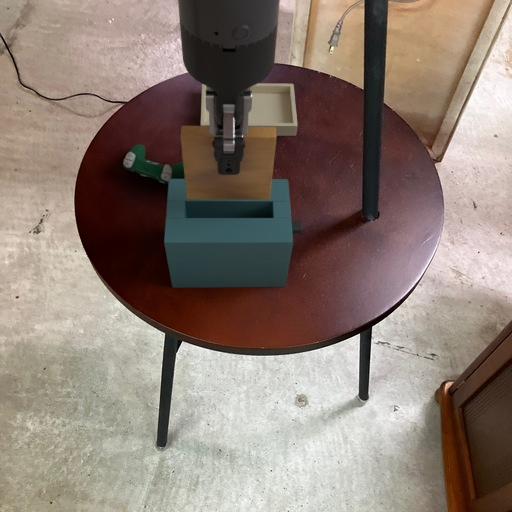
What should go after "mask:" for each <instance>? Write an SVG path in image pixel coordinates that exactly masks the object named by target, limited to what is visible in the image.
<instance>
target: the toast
mask: <svg viewBox="0 0 512 512" xmlns="http://www.w3.org/2000/svg"><path fill="white" fill-rule="evenodd" d="M214 137H215V136H213V135H211V134H210V126H201V125H181V127H180V143H181V145H180V146H181V156H182V155H183V159H182V161H183V165H184V175H185V178H184V179H185V185H186V195H187V199H234V200H270V194H271V185H272V179H273V174H274V165H275V164H274V162H275V154H276V144H277V136H276V127H248V133H247V135H245V136H243V137H244V141H245V148H244V157H243V158H242V161H240V172H239V174H237V175H221V174H219V173H218V165H217V161H216V160H215V157H214V147H213V146H212V141H214Z"/></svg>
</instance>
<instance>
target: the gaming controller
mask: <svg viewBox="0 0 512 512" xmlns="http://www.w3.org/2000/svg"><path fill="white" fill-rule="evenodd" d="M122 166H123V168H124V169H126V171H129V172H132V173H136V174H139V176H141V177H144V178H145V177H148V178H151V179H154V180H157V181H158V182H159V183H162V184H167V185H168V183H169V179H185V175H184V165H183V160H182V161H180V162H177V163H175V164H171V165H170V164H161V163H159V162H156V161H152V160H150V159H146V147H145V145H144V144H142V143H141V144H139V143H138V144H135V145H133V146H132V148H130V149H129V151H128V152H127V154H126V155H125V157H124V158H123V161H122Z"/></svg>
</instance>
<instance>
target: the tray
mask: <svg viewBox="0 0 512 512" xmlns="http://www.w3.org/2000/svg"><path fill="white" fill-rule="evenodd" d="M206 89H207V86H206V85H204V84H202V83H201V97H200V98H201V103H200V126H210V123H209V112H208V111H207V110H206ZM251 90H252V109H251V111H250V112H249V114H248V127H276V137H296V136H297V132H298V117H297V107H296V96H295V95H296V94H295V86H294V83H269V82H267V83H266V82H265V83H264V82H263V83H261V82H259V83H257V84H256V85H253V86H251ZM215 117H216V116H215Z"/></svg>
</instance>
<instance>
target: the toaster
mask: <svg viewBox="0 0 512 512" xmlns="http://www.w3.org/2000/svg"><path fill="white" fill-rule="evenodd" d="M167 185H168V186H167V196H166V197H167V198H166V212H165V225H164V239H163V244H164V249H165V255H166V260H167V266H168V271H169V277H170V282H171V287H172V288H173V289H175V288H176V289H177V288H179V289H180V288H182V289H183V288H187V289H188V288H189V289H190V288H193V289H194V288H286V286H287V280H288V274H289V268H290V262H291V256H292V251H293V246H294V235H301V234H302V233H303V232H302V231H303V226H302V220H292V210H291V198H290V186H289V179H288V178H272V185H271V194H270V200H234V199H187V195H186V185H185V178H184V179H169V183H168V184H167Z"/></svg>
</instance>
